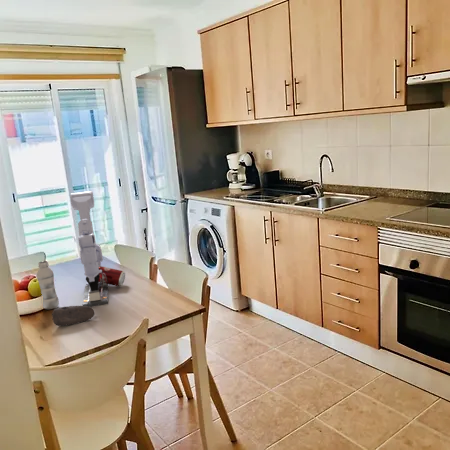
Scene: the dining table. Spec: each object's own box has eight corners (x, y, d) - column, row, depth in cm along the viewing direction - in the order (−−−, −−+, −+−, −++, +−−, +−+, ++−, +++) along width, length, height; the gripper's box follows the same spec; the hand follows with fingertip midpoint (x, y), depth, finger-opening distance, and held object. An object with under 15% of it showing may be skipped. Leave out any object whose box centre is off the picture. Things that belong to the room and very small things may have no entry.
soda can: (126, 275, 206) (102, 270, 207) (124, 268, 200) (99, 263, 201) (121, 289, 202) (96, 284, 203) (118, 282, 196) (93, 277, 197)
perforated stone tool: (95, 316, 171) (93, 299, 169) (95, 322, 166) (93, 305, 164) (55, 324, 167) (52, 307, 166) (53, 329, 162) (50, 312, 161)
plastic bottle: (54, 311, 179) (45, 264, 175) (39, 311, 181) (30, 264, 176) (62, 304, 186) (55, 259, 181) (48, 304, 187) (40, 259, 182)
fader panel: (85, 289, 202) (85, 284, 202) (108, 285, 204) (107, 280, 204) (82, 308, 180) (82, 302, 180) (108, 303, 183) (107, 298, 182)
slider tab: (90, 298, 185) (89, 290, 184) (100, 297, 186) (98, 289, 185) (90, 301, 182) (88, 293, 181) (99, 299, 183) (98, 291, 182)
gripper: (99, 265, 180) (104, 296, 183) (100, 256, 194) (104, 285, 197) (81, 268, 178) (86, 299, 181) (83, 258, 192) (88, 287, 195)
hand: (95, 292), depth 189 cm, fingers closed
